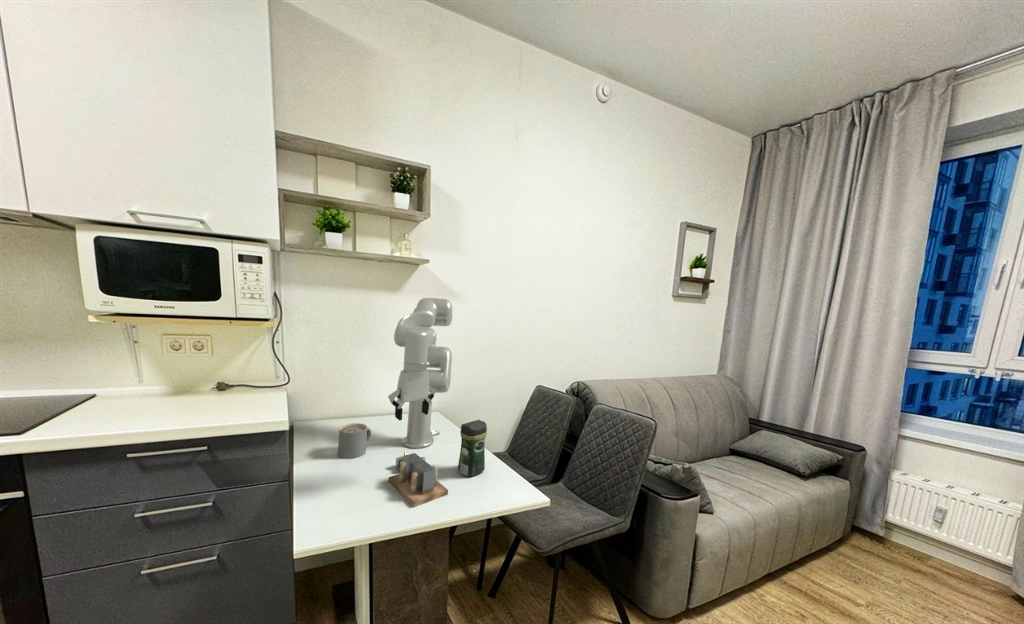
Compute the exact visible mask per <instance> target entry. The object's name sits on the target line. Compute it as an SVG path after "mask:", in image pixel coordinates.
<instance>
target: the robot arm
mask: <svg viewBox="0 0 1024 624" xmlns="http://www.w3.org/2000/svg"><path fill="white" fill-rule="evenodd" d="M452 321H453V305H452V302H451V301H450V300H448V299H447V298H438V297H423V298H421V299H420V300H418V302H417V304H416V307H415V308H414V309H413V312H412V313H410V314H407V315H405V316H403V317H401V318H400V320H399V321H398V322H397V325H396V327H395V330H394V334H393V335H394V336H393V342H394V343H395V345H396V346H398V347H400V348H401V347H402V348H404V353H403V354H404V355H403V356H404V357H403V369H402V370H400V372H399V376H398V379H397V380H398V381H397V387H396V390H395V391H393V392H392V393H390V394H389V395H388V399H389V401H390V404H391V405H393V407H394V408H395V409H394V417H395V418H396V419H397V420H398V421H402V420H403V408H402V407H403V406H404V405H405V403H408V414H407V430H406V436H405V437H404V438H403V439H402V445H403V446H404V447H407V448H410V449H423V448H427V447H430V446H431V445H433V443H434V439H433V438H434V437H436V436H440V434H441V432H440V430H435V429H431V423H432V422H431V420H432V406H433V401H432V400H433V398H435V394H436V393H437V394H439V393H442V394H443V393H447V392H448V391H449V390H450V388H451V379H452V375H451V374H452V363H453V362H452V361H453V359H452V358H453V357H452V355H453V354H452V351H451V349H450V348H449V347H447V346H437V333H436V331H435V329H434V328H432V327H449V326H450V325H451V324H452ZM396 399H397V400H396Z"/></svg>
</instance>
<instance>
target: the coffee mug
mask: <svg viewBox="0 0 1024 624" xmlns="http://www.w3.org/2000/svg"><path fill="white" fill-rule="evenodd" d="M371 436H372V429H371V428H370V427H368V425H367V424H365V423H359V422H358V423H357V422H356V423H355V422H354V423H347V424H344V425H341V426H339V430H338V443H337V444H338V445H337V446H338V447H337V456H338V457H339V458H340V459H346V460H350V459H357V458H360V457H362V456H364V455H365V454H366V450H367V442H369V440H370V438H371Z"/></svg>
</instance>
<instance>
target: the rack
mask: <svg viewBox="0 0 1024 624" xmlns="http://www.w3.org/2000/svg"><path fill="white" fill-rule="evenodd" d="M420 457H421V458H422V459H423V460H424V461H426V456H420ZM432 467H433V468H434V469H435V482H434V491H432V492H429V493H426V494H423V495H422V494H421V493H420V492H419V491H418V490H417V476H418V473H417V472H413V473H412V477H411V483H410V482H409V481H408V480H406V479H405V472H406V463H405V462H402V463H400V471H399V473H397V474H395V475H391V476H388V483H389V484H390V485H392V487H393V488H394V489H395V490H396V491H397V492H398V493H399V494H400V495H401V496H402V497H403V498H404V499H405V500H406V501H407V502H408V503H409V504H410V505H411V507H413V508H415V507H418V506H420V505H423V504H427V503H428V502H432V501H434V500H436V499H439V498H442V497H445V496H447V495H448V494H449V489H447V488H446V487H445V486H444V485H443V484H441V483H440V482H439V481H438V480H437V479H438V466H437V465H434V466H432Z"/></svg>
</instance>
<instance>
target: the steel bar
mask: <svg viewBox="0 0 1024 624" xmlns="http://www.w3.org/2000/svg"><path fill="white" fill-rule="evenodd" d="M403 456H404V455H403ZM421 457H422V456H420V455H418V454H417V453H416V452H413V453H409V454H406V455H405V456H404V462H405V463H406V472H405V479H406V480H408V481H409V482H410V483H411V477H412V473H413V472H417V473H418V476H417V490H418V491H419V492H420V493H421V494H422V495H423V494H426V493H429V492H432V491H434V482H435V469H434V468H433V466H432V465H430V464H429V463H428V462H427V461H426V460H425V461H424V460H423V459H422V458H421Z"/></svg>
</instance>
